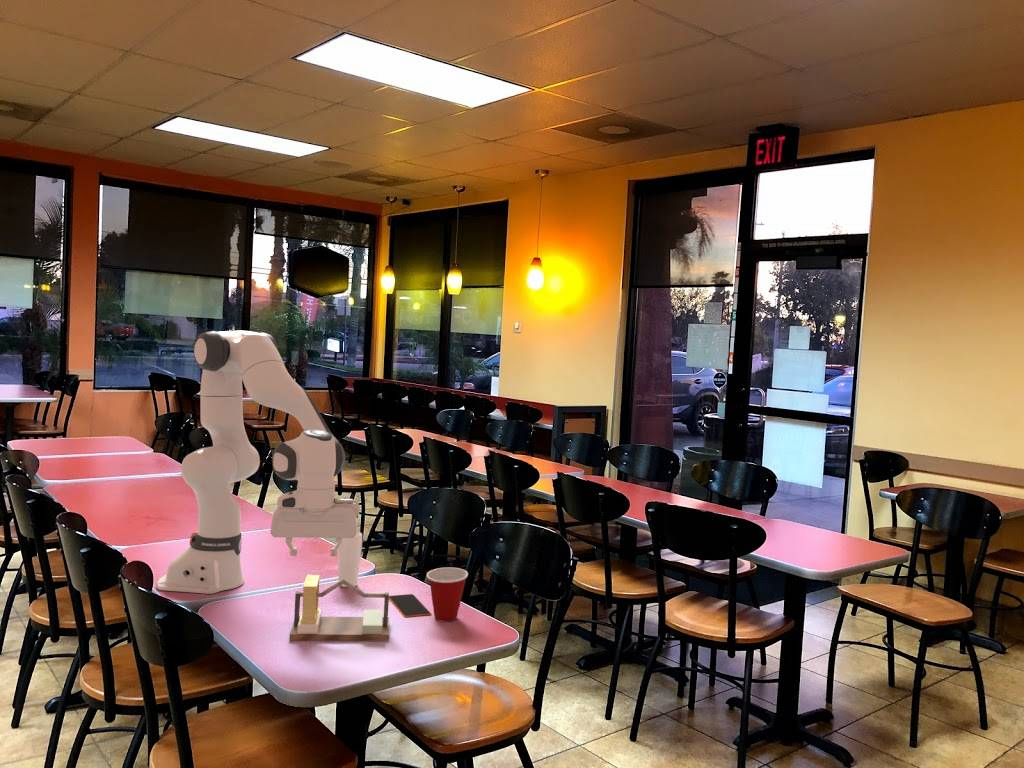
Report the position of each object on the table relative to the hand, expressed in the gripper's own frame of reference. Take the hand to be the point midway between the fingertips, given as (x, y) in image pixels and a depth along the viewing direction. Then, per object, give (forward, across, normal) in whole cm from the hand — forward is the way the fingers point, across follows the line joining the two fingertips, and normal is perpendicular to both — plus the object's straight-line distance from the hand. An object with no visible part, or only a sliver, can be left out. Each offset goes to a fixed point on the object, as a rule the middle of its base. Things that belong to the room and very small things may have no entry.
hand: (313, 555), depth 196 cm
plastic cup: (+19, -33, -10) cm, 40 cm away
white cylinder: (+19, -7, -36) cm, 41 cm away
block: (+17, 0, 0) cm, 17 cm away
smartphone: (+20, -24, -19) cm, 36 cm away
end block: (+17, -15, 0) cm, 23 cm away
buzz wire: (+19, -7, 0) cm, 20 cm away
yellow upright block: (+15, 0, 0) cm, 15 cm away
